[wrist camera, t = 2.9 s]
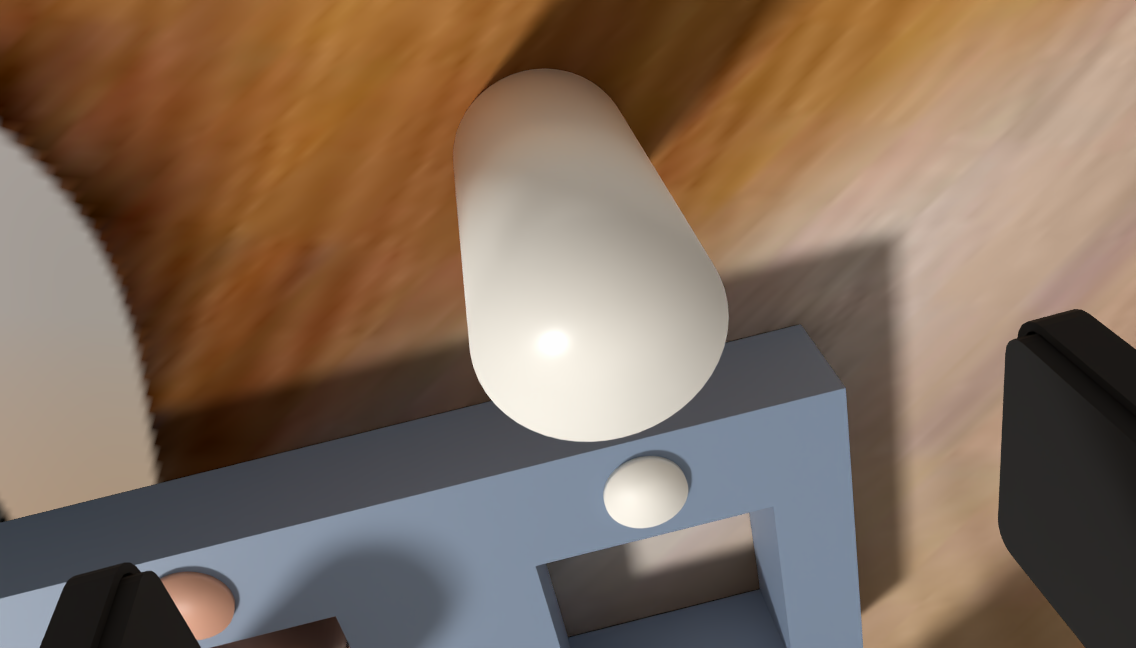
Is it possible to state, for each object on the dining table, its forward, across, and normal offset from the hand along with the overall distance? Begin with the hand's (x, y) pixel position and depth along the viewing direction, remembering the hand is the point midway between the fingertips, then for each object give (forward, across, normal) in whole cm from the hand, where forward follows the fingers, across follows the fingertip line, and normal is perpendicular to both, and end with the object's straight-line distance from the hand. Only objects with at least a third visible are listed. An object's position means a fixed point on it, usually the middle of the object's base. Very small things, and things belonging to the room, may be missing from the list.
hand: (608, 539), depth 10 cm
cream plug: (+13, -1, 0) cm, 13 cm away
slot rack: (+13, +4, +12) cm, 18 cm away
